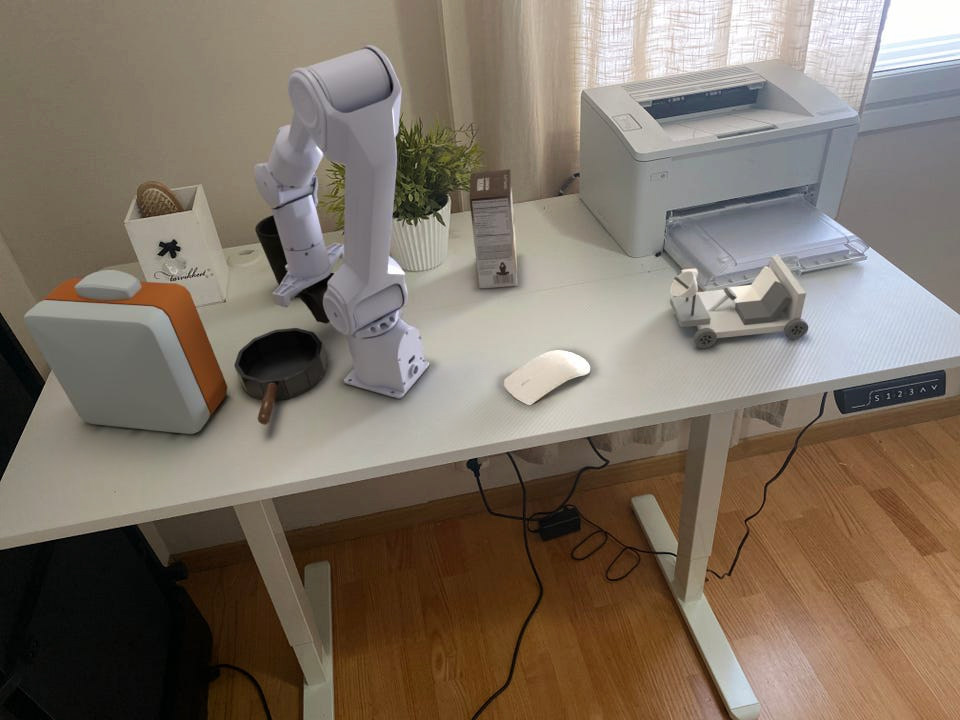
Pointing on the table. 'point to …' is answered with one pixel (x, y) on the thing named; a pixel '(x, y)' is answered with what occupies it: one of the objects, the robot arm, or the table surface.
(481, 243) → the coffee box
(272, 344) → the pan
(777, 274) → the toy cart
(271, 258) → the cup
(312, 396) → the table surface
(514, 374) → the computer mouse
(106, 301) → the alarm clock
